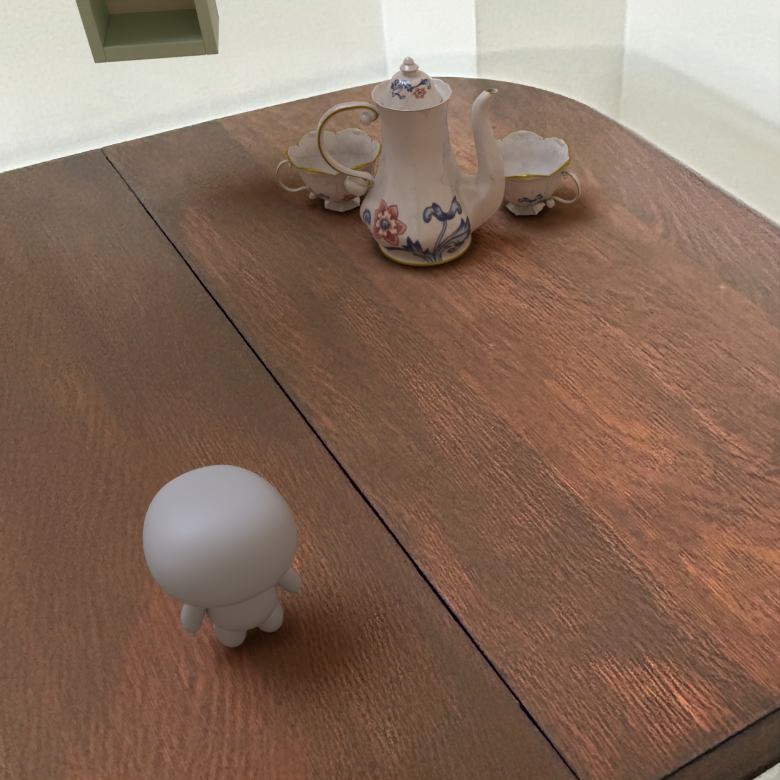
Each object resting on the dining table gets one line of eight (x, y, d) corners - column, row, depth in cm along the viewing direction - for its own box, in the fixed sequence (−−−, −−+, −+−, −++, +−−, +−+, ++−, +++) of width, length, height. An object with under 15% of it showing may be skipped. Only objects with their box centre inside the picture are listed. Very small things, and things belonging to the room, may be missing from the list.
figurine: (294, 568, 66) (256, 428, 57) (337, 651, 61) (304, 513, 53) (171, 616, 63) (111, 476, 54) (206, 706, 59) (148, 570, 50)
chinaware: (573, 192, 101) (576, 9, 90) (588, 270, 89) (594, 69, 78) (289, 199, 100) (257, 15, 89) (263, 280, 88) (223, 77, 77)
